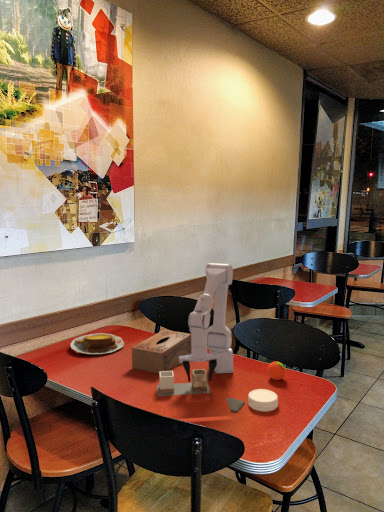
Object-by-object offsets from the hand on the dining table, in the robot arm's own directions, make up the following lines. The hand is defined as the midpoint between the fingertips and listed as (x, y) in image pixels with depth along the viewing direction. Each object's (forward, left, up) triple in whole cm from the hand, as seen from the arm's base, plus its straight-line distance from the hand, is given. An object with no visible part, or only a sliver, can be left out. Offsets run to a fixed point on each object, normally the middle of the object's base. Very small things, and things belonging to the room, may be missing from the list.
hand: (199, 380), depth 147 cm
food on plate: (+43, -51, -4) cm, 67 cm away
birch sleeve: (0, 0, -3) cm, 3 cm away
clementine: (-31, -5, -4) cm, 32 cm away
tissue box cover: (+12, -28, -4) cm, 31 cm away
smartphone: (-6, +10, -4) cm, 12 cm away
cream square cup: (+12, 0, -3) cm, 12 cm away
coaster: (-20, +13, -4) cm, 24 cm away
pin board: (+6, 0, -4) cm, 7 cm away
